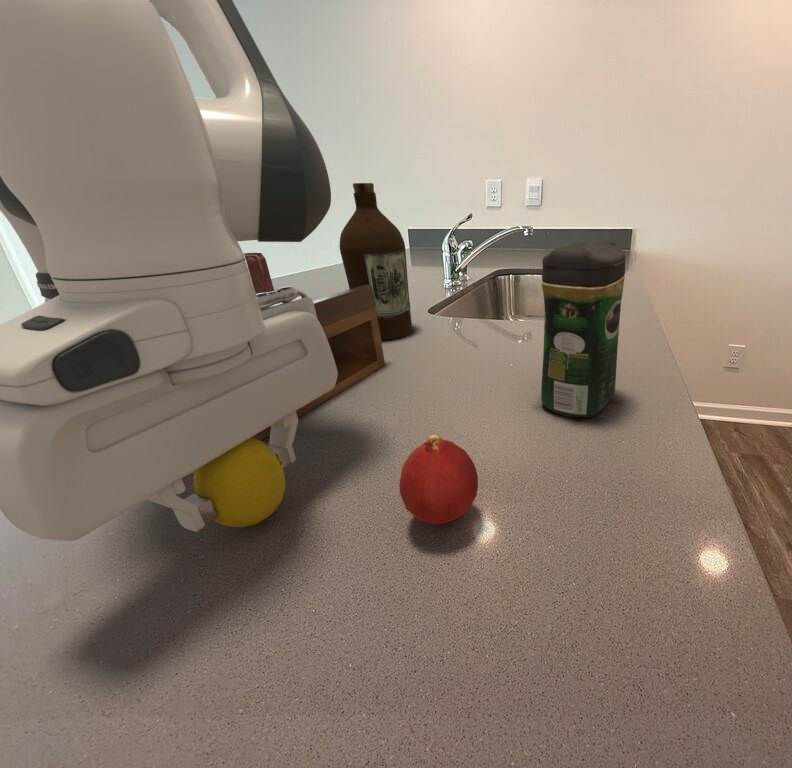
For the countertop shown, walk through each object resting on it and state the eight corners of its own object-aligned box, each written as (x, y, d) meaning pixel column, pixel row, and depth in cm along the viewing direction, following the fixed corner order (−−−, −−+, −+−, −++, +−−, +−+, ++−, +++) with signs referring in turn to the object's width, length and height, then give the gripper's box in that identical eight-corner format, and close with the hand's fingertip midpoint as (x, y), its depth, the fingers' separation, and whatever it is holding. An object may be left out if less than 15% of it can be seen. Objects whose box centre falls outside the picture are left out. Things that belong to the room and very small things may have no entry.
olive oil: (346, 333, 76) (316, 184, 65) (397, 321, 82) (377, 183, 72) (373, 346, 69) (344, 182, 58) (426, 332, 75) (409, 182, 65)
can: (269, 333, 77) (247, 256, 71) (241, 332, 78) (216, 256, 72) (291, 324, 82) (272, 251, 76) (264, 322, 83) (243, 251, 77)
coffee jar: (564, 379, 55) (569, 235, 47) (621, 392, 52) (637, 238, 44) (529, 410, 48) (529, 245, 40) (593, 427, 44) (607, 249, 36)
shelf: (171, 420, 47) (127, 320, 42) (312, 354, 66) (294, 280, 61) (260, 441, 43) (224, 332, 38) (385, 364, 62) (372, 284, 56)
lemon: (239, 561, 29) (200, 470, 25) (202, 531, 32) (162, 445, 28) (310, 514, 33) (284, 430, 30) (272, 490, 36) (244, 411, 32)
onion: (412, 497, 35) (399, 416, 31) (479, 492, 35) (474, 411, 32) (401, 552, 29) (383, 461, 26) (481, 545, 30) (474, 455, 26)
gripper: (277, 279, 35) (314, 419, 41) (-117, 370, 17) (47, 591, 23) (337, 283, 33) (366, 429, 39) (-41, 390, 15) (117, 625, 21)
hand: (244, 491), depth 31 cm, fingers closed on lemon, 5 cm apart
